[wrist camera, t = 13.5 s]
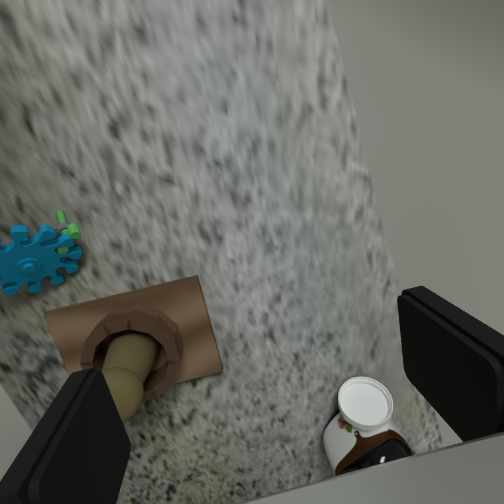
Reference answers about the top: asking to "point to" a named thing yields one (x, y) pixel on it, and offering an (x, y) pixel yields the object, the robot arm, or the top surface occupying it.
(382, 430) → the spread jar
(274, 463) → the top surface
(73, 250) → the gear
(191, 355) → the shaker stand
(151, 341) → the cork
